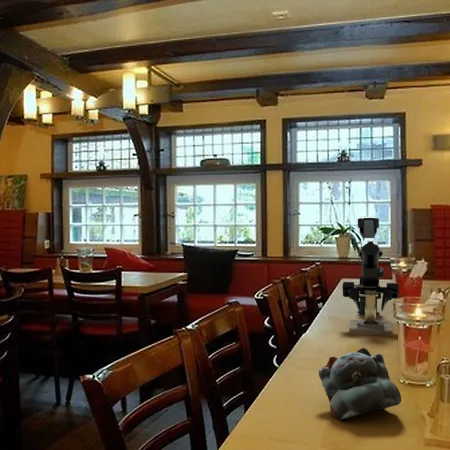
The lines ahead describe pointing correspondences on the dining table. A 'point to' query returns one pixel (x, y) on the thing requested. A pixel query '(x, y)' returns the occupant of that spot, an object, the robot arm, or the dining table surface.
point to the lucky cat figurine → (358, 384)
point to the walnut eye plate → (386, 326)
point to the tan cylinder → (370, 307)
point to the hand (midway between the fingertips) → (370, 310)
